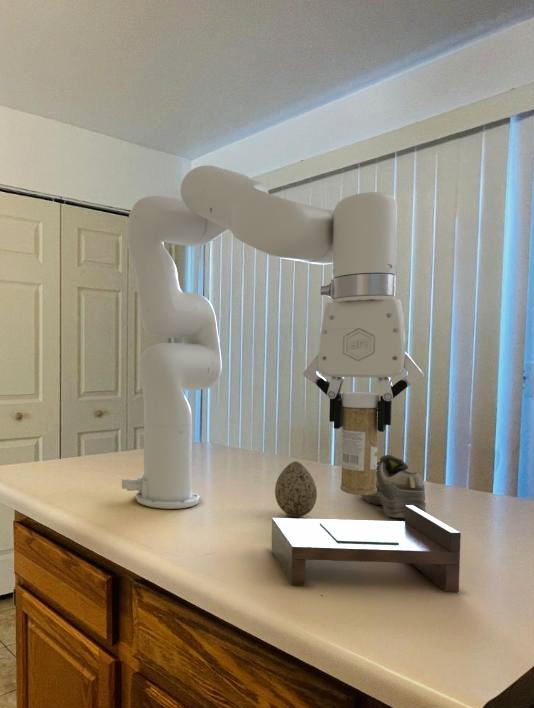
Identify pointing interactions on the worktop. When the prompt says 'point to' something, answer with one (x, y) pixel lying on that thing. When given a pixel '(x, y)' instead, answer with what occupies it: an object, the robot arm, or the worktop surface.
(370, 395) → the sprinkles bottle
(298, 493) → the decorative egg
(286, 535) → the shelf
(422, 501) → the hiking shoe
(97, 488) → the worktop surface
